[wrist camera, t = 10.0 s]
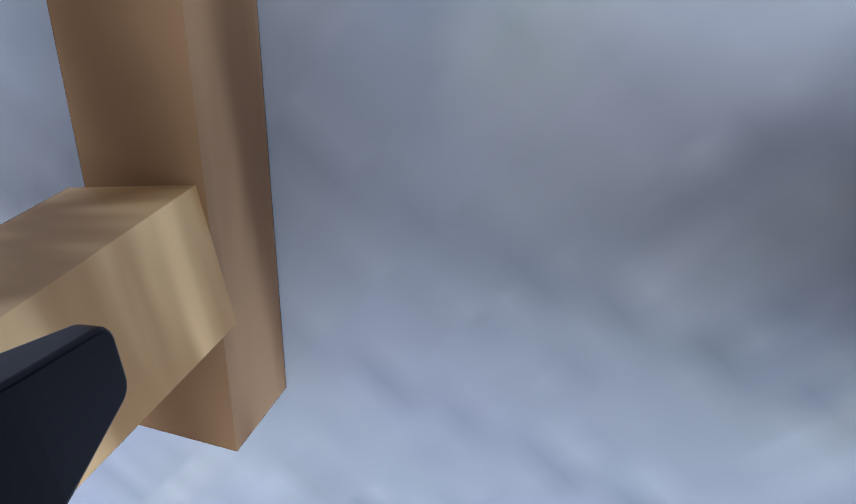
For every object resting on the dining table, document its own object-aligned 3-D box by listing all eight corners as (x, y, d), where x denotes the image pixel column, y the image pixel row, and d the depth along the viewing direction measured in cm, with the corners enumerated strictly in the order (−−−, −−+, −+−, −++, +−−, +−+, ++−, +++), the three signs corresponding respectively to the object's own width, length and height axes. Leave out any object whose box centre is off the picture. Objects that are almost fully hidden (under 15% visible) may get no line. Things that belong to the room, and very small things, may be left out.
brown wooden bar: (243, -171, 19) (160, -172, 16) (286, 387, 28) (237, 451, 25) (109, -177, 20) (9, -178, 17) (191, 364, 29) (133, 423, 26)
